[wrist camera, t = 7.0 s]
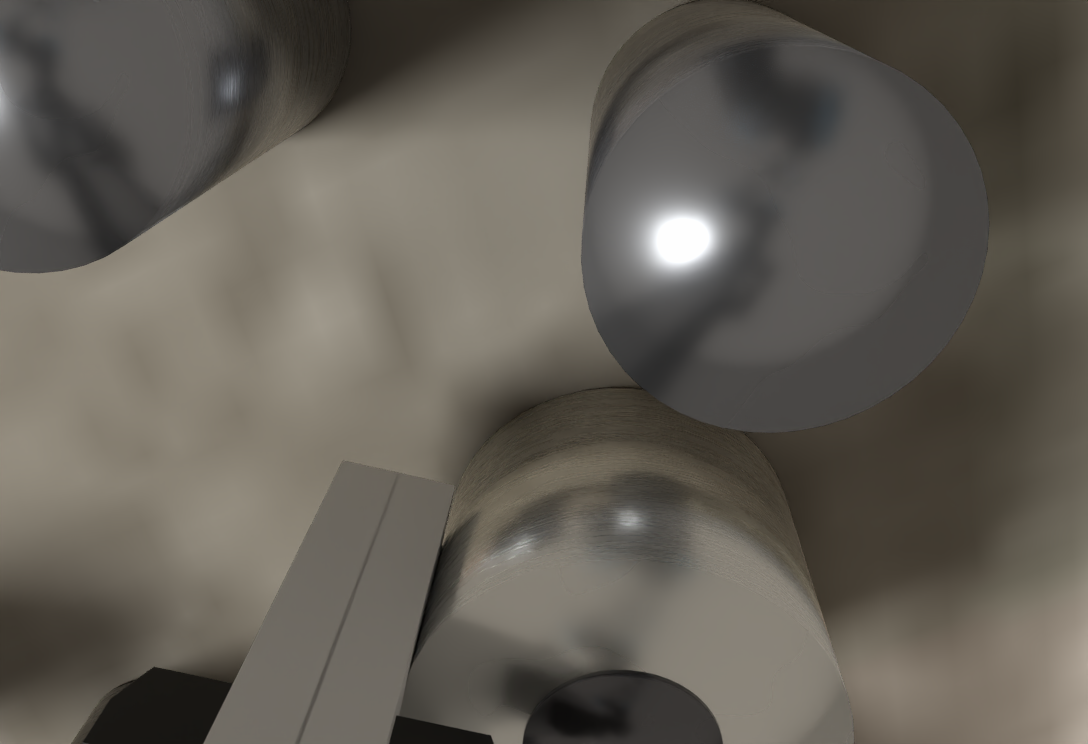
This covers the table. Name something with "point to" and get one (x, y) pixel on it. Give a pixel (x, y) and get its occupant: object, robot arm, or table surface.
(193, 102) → the spacer field
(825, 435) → the table surface
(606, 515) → the silver metal cylinder
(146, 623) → the table surface
